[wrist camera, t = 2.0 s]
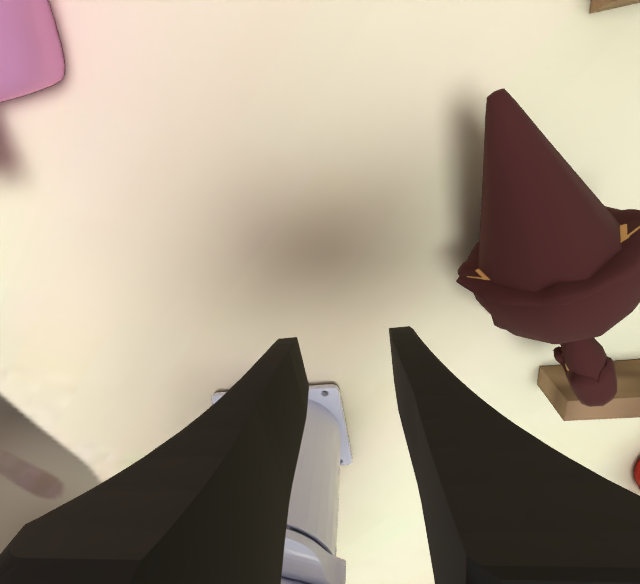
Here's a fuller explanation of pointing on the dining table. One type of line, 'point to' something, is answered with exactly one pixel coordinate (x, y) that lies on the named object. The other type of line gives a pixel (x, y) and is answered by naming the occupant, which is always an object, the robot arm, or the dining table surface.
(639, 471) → the canned food
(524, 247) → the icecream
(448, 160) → the dining table surface
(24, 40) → the teakettle
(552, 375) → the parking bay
